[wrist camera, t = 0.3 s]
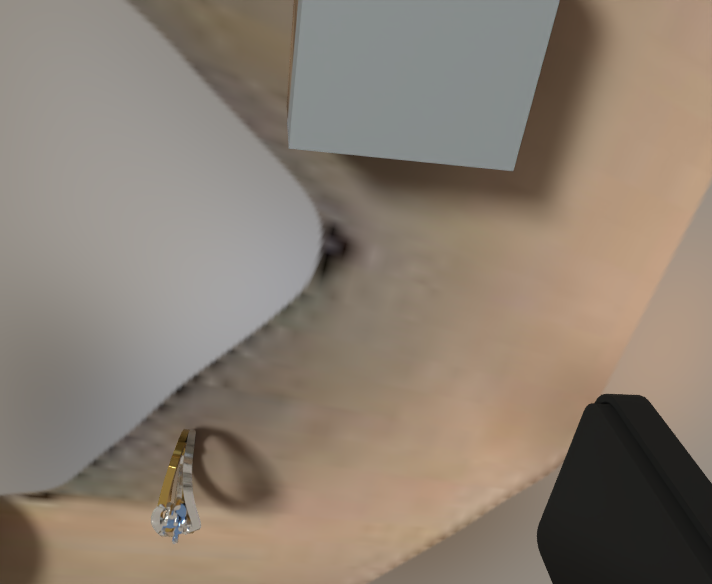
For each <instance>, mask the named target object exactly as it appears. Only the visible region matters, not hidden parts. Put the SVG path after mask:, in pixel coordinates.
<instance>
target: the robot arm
mask: <svg viewBox="0 0 712 584" xmlns="http://www.w3.org/2000/svg"><path fill="white" fill-rule="evenodd" d="M537 542H538V548H539V551H540V554H541V556H542V559H543V561H544V563H545V566H546V569H547V571H548V573H549V576H550V578H551V581H552V583H553V584H712V483H711V482H710V481H709V480H708V478H707V477H706V476H705V474H704V473H703V472H702V470H701V469H700V468H699V466H698V465H697V464H696V462H695V461H694V460H693V459H692V457H691V456H690V454H689V453H688V452H687V450H686V449H685V448H684V446H683V445H682V444H681V443H680V441H679V440H678V439H677V437H676V436H675V435H674V433H673V432H672V431H671V429H670V428H669V427H668V425H667V424H666V423H665V421H664V420H663V419H662V417H661V416H660V415H659V413H658V412H657V411H656V410H655V408H654V407H653V406H652V405H651V403H650V402H649V401H648V400H647V399H646V398H645V397H643V396H640V395H623V394H603V395H601V396H600V397H598V398H597V400H596V402H595V403H592V404H589V405H588V406H587V407H586V408H585V410H584V412H583V415H582V417H581V420H580V422H579V425H578V427H577V430H576V432H575V435H574V437H573V440H572V442H571V445H570V447H569V450H568V453H567V455H566V458H565V460H564V463H563V465H562V468H561V470H560V473H559V476H558V478H557V480H556V483H555V485H554V488H553V490H552V493H551V495H550V498H549V500H548V503H547V505H546V508H545V510H544V513H543V515H542V518H541V520H540V523H539V526H538V530H537Z"/></svg>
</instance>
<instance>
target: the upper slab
mask: <svg viewBox="0 0 712 584" xmlns="http://www.w3.org/2000/svg"><path fill="white" fill-rule="evenodd" d="M559 1H560V0H298V9H297V20H296V32H295V43H294V54H293V66H292V77H291V88H290V99H289V111H288V122H287V126H288V142H289V148H290V149H299V150H309V151H319V152H329V153H339V154H349V155H358V156H368V157H378V158H388V159H398V160H408V161H418V162H427V163H437V164H447V165H457V166H467V167H477V168H487V169H496V170H506V171H514V167H515V163H516V159H517V156H518V152H519V148H520V145H521V141H522V137H523V134H524V130H525V126H526V123H527V119H528V115H529V112H530V108H531V104H532V100H533V97H534V93H535V89H536V86H537V82H538V78H539V75H540V71H541V67H542V64H543V60H544V56H545V53H546V49H547V45H548V42H549V38H550V34H551V30H552V27H553V23H554V19H555V16H556V12H557V8H558V5H559Z"/></svg>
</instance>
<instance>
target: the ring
mask: <svg viewBox="0 0 712 584" xmlns="http://www.w3.org/2000/svg"><path fill="white" fill-rule="evenodd" d="M195 435H196V431H194V430H189V429H184V430H183V431H182V433H181V435H180V438H179V440H178V442H177V445H176V447H175V450H174V453H173V455H172V458H171V461H170V464H169V467H168V470H167V473H166V476H165V479H164V483H163V486H162V490H161V494H160V497H159V501H158V506H157V507H156V508H155V509H154V511H153V513H152V516H151V524H152V527H153V528H154V530H155V531H156V532H157V533H158V534H159V535H160V536H163V537H173V540H172V542H173V544H175V543H178V537H179V534H181V533H182V534H185V535H186V534H190V533H194V531H196V530H199V529H200V528H201V522H200V518H199V515H198V512H197V508H196V505H195V501H194V496H193V488H192V461H193V451H194V443H195ZM180 458H181V460H180ZM179 461H180V467H179V474H178V480H177V486H176V493H175V499H174V503H171V502H170V501H171V495H172V488H173V483H174V478H175V474H176V471H177V467H178V464H179ZM165 510H167V512H166V513H165V517H164V519H163V512H164V511H165Z"/></svg>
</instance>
